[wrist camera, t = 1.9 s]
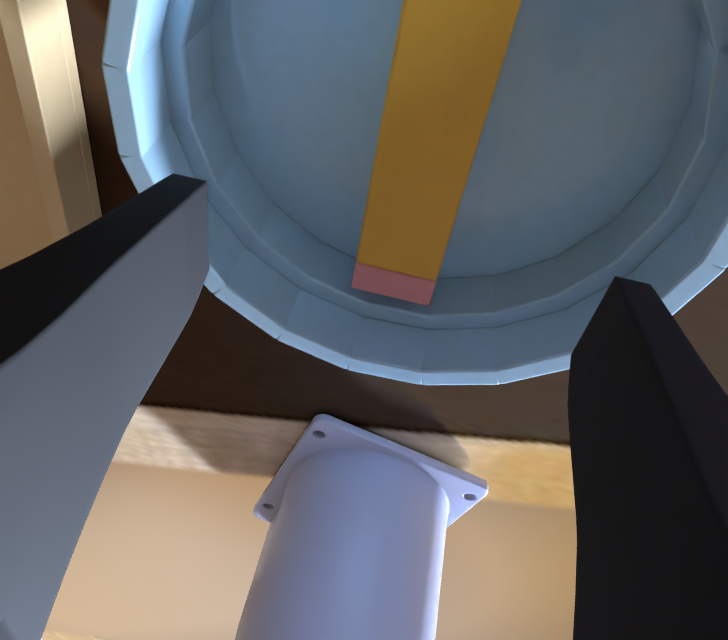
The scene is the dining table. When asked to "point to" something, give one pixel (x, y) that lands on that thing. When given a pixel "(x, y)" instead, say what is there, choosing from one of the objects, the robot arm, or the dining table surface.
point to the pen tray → (41, 131)
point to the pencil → (429, 139)
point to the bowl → (484, 185)
